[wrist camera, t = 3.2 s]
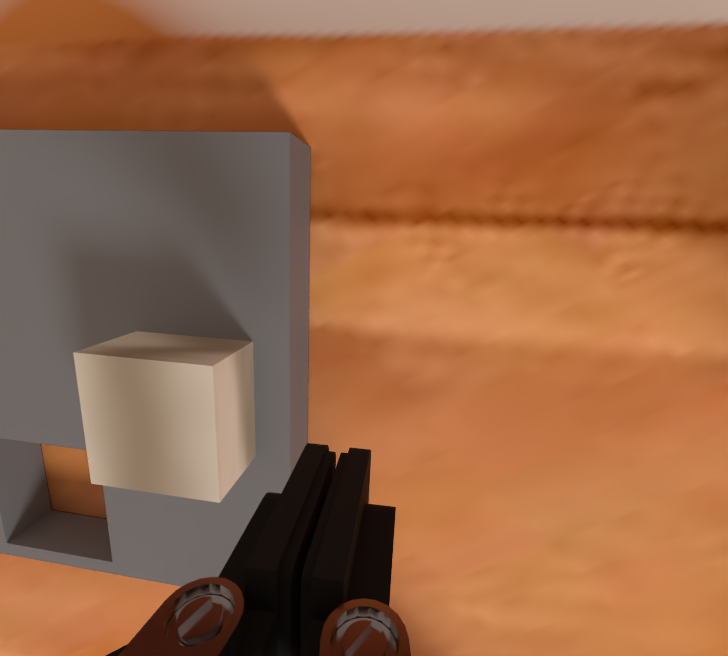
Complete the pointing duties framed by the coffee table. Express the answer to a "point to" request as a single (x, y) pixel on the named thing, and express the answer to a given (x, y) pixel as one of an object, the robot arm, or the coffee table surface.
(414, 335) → the coffee table surface
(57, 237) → the board
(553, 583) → the coffee table surface
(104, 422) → the cream block
